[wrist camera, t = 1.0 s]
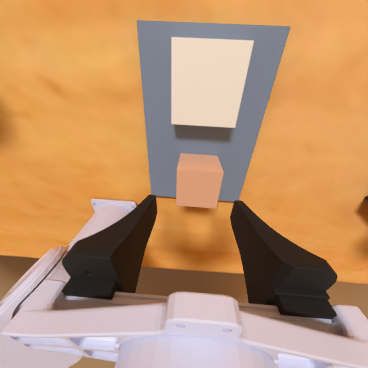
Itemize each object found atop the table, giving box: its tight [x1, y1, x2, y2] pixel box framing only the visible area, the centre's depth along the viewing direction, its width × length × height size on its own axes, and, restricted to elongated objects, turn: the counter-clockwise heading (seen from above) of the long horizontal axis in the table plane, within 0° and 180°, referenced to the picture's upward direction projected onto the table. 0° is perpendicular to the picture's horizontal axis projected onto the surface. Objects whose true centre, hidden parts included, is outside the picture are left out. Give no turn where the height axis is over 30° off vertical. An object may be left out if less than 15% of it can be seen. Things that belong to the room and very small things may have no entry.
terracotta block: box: [176, 153, 224, 208], centre depth 19 cm, size 5×5×5 cm
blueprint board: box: [137, 20, 290, 202], centre depth 18 cm, size 20×14×3 cm
